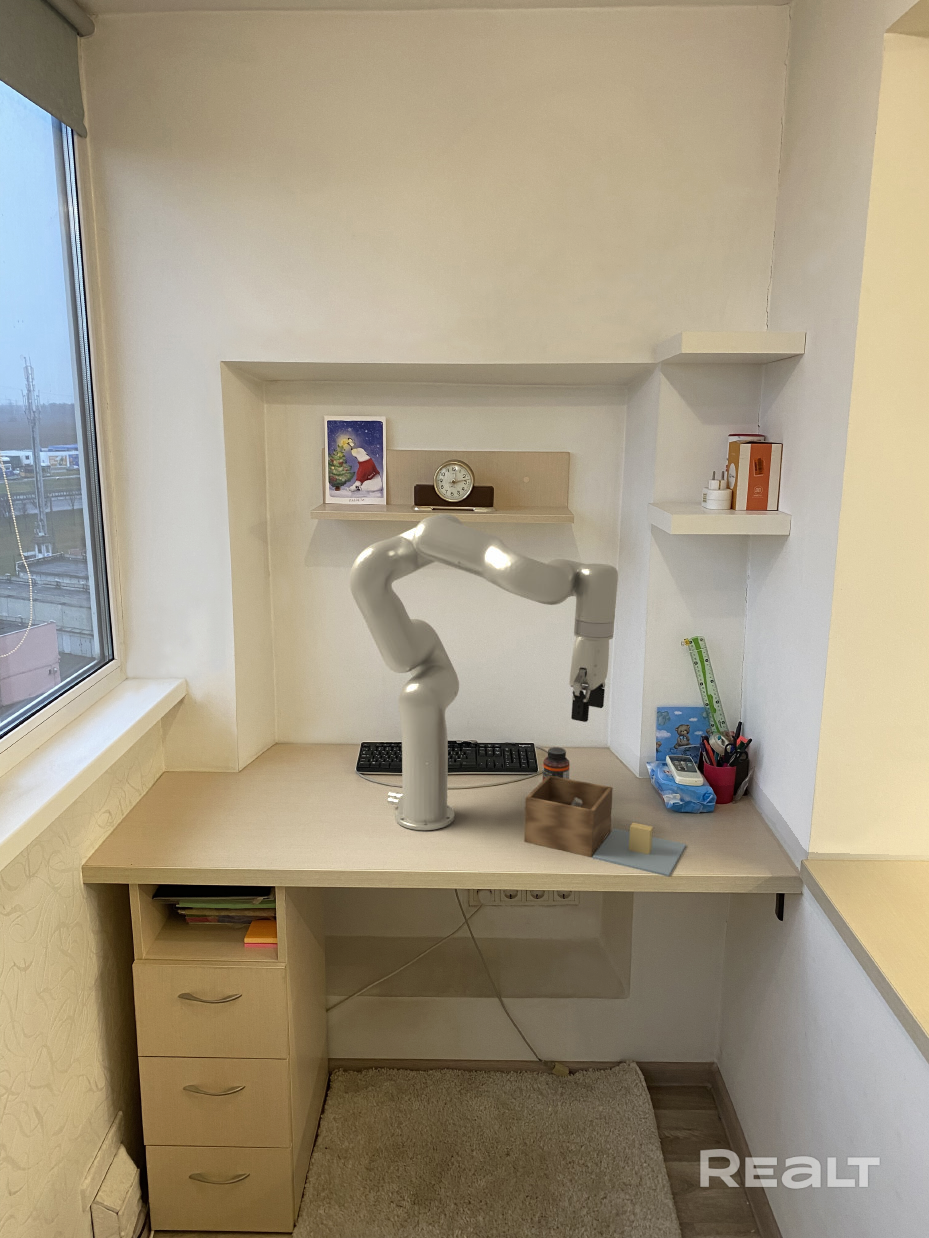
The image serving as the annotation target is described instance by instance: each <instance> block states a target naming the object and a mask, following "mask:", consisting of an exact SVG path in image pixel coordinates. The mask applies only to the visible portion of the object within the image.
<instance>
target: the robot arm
mask: <svg viewBox="0 0 929 1238" xmlns="http://www.w3.org/2000/svg"><path fill="white" fill-rule="evenodd" d="M436 562H437V563H440V564H443V565H445V566H448V567H451V568H454V569H457V570H459V571H463V572H465V573H468V574H471V575H473V576H474V575H475V576H477V577H480V578H482V579H484V580H485V581H487V582H489V583H491V584H492V585H494V586H496V587H498V588H500V589H502V590H504V591H506V592H508V593H509V594H513V595H515V596H518V597H521V598H524V599H527V600H530V601H533V602H534V603H535V602H536V603H538V604H542V605H547V606H548V605H549V606H555V605H560V604H562V603H563V602H565V601H566V600H567V599H568V598H569V597H575V599H576V600H575V611H574V612H575V616H574V628H573V636H574V637H575V641H574V646H573V649H572V656H571V665H570V671H569V672H570V673H569V682H568V683H569V686H570V687H571V688H573V689H572V691H571V692H572V697H571V698H572V703H571V715H570V716H571V717H570V718H571V720H573V721H578V722H584V723H587V722H588V721H589V715H590V714H589V711H590V707H592V708H598V709H603V708H604V701H605V693H606V692H605V691H606V689H605V687H606V679H607V678H608V677H607V676H608V669H609V660H610V659H609V656H610V640H612V639H613V638H614V631H615V619H616V607H617V606H616V605H617V593H618V582H619V572H618V569H617V568H616V567H614V566H613V565H610V564H604V563H583V562H578V561H575V560H574V561H573V560H570V559H567V558H557V559H556V558H555V559H553V560H550V561H549V562H548V563H545V562H543V561H538V560H536V559H533V558H530V557H528V556H525V555H522V554H520V553H518V552H516V551H514V550H512V549H511V548H510V547H508V546H507V545H506V544H505V542H504V541H503V540H502V539H501V538H500V537H498V536H496V535H495V534H491V533H488V532H486V531H485V532H484V531H481V530H478V529H476V528H472V527H470V526H467V525H464V524H463V523H462V521H461V520H460V519H459V518H458V517H456V516H455V515H452V514H449V513H438V514H435V515H430V516H428V517H425V518H424V519H422V520H420V522H418V524H417V525H416V526H414V527H412V528H411V529H409V530H406V531H404V532H402V533H400V534H398V535H396V536H393V537H390V538H387V539H385V540H381V541H378V542H375V543H372V544H371V545H369V546H368V547H366V548H365V549H363V551H361V553H360V554H359V555H358V556H357V557H356V559H355V560H354V562H353V564H352V567H351V569H350V572H349V573H350V574H349V587H350V592H351V594H352V597H353V599H354V602H355V604H356V606H357V607H358V609H359V612H360V613H361V616H362V617H363V619H364V621H365V623H366V625H367V628H368V630H369V633H370V635H371V636H372V638H373V640H374V642H375V645H376V647H377V649H378V651H379V654H380V655H381V657H382V659H383V661H384V663H385V665H386V666H387V667H388V668H389V670H391V671H393V672H395V673H397V674H405V673H406V674H407V673H409V672H410V674H411V678H410V679H409V680H407V682H406V683H405V684H404V685H403V687H402V689H401V691H400V693H399V696H398V712H399V719H400V727H401V751H402V753H401V756H402V757H401V758H402V759H401V760H402V762H401V763H402V765H401V767H402V768H401V770H402V772H401V773H402V776H401V777H402V779H401V781H402V783H401V785H402V789H401V791H402V792H399V791H395V790H390V791H389V792H388V795H387V797H388V798H387V803H388V804H389V805H395V806H396V807H397V809H396V810H395V813H394V817H395V821H396V823H397V824H399V825H400V826H402V827H404V828H407V829H410V830H416V831H431V830H433V831H434V830H438V829H442V828H445V827H447V826H449V825H450V824H451V823H453V821H454V819H455V810H454V809H453V808H452V807H451V805H448V765H449V764H448V763H449V761H448V753H449V752H448V748H449V747H448V746H449V745H448V741H449V740H448V729H447V722H446V710H447V709H448V707H449V706H450V705H451V704H452V703H453V702H454V701H455V700H456V698H457V696H458V694H459V691H460V681H459V678H458V674H457V672H456V669H455V668H454V666H453V663H452V660H451V659H450V657H449V655H448V653H447V651H446V649H445V647H444V645H443V642H442V640H441V638H440V636H439V634H438V633H437V631H436V630H435V629H434V627H432V625H430V624H429V623H428V622H426V621H425V620H421V619H419V618H411V617H410V616H409V614H408V612H407V610H406V607H405V605H404V603H403V602H402V600H401V598H400V597H399V596H398V594H397V593H396V592H395V591H394V589H393V586H392V585H393V582H395V581H398V580H400V579H402V578H404V577H407V576H409V575H411V574H413V573H414V572H417V571H419V570H421V569H422V568H423V569H424V568H425V567H427V566H429V565H431V564H433V563H436ZM584 691H585V692H584Z"/></svg>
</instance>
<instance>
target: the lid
mask: <svg viewBox="0 0 929 1238" xmlns="http://www.w3.org/2000/svg"><path fill="white" fill-rule="evenodd" d="M653 829H654V827H653V826H651V825H646V824H641V823H637V822H632V823H631V824H630V826H629V830H624V829H619V828H613V829H612V831H610V832H609V833H610V834H608V835H607V836H606V837H605V838H606V839H604V840H603V841H602V843H601V844H600V846H599V847H598V848H597V850H596V851H595V853H594V854H593V855H592V859H593V860H597V861H603V862H605V863H610V864H614V865H619V866H623V867H627V868H631V869H635V870H640V871H643V872H648V873H651V874H656V875H660V876H664V877H670V875H671V874H672V872H673V870H674V868H675V866H676V865H677V862H678V861H679V859H680V857H681V855H682V853H683V852H684V850H685V849H686V847H687V845H686V843H684V842H683V843H681V842H678V841H675V840H674V841H673V840H669V839H664V838H659V837H655V836H653V834H654V833H653V831H654V830H653Z"/></svg>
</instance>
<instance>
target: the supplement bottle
mask: <svg viewBox="0 0 929 1238" xmlns="http://www.w3.org/2000/svg"><path fill="white" fill-rule="evenodd" d="M566 751H567V750H566V749H564V748H563V747H559V746H558V747H557V746H556V747H555V746H553V747H550V748H548V749H547V756H546V757H544V759H543V764H542V781H543V780H544V779H545V778H546V777H547V776H548V775H550V776H555V777H560V778H565V779H570V767H571V765H570V760H569V759H568V758H567V757H566V756H567V752H566ZM542 781H541V782H542Z"/></svg>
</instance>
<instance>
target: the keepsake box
mask: <svg viewBox="0 0 929 1238" xmlns="http://www.w3.org/2000/svg"><path fill="white" fill-rule="evenodd" d="M542 780H543V779H542ZM575 798H578V799H581V800H582V805H581V807H576V806H571V805H572V803H573V801H574V799H575ZM524 804H525V806H524V839H523V841H524V842H523V843H528V844H533V845H536V846H542V847H545V848H550V849H555V850H558V851H563V852H568V853H572V854H576V855H581V856H586V857H588V858H593V855H594V854H595V853H596V851H597V850H598V849H599V848H600V846H601V845H602V844H603V842H604V841H605V840H606V839H605V838H607V837H608V835H609V833H611V825H612V823H611V822H612V810H613V809H612V804H613V787H612V786H607V785H602V784H596V783H591V782H586V781H580V780H575V779H571V778H569V779H565V778H560V777H555V776H550V775H548V776H547V777H546V778H545V779H544V780H543V781H541V782H540V783H539V784H538V785H537V786H535V788H533V790H532V791H531V792H530V793H528V795H526V796H525V803H524Z"/></svg>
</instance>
